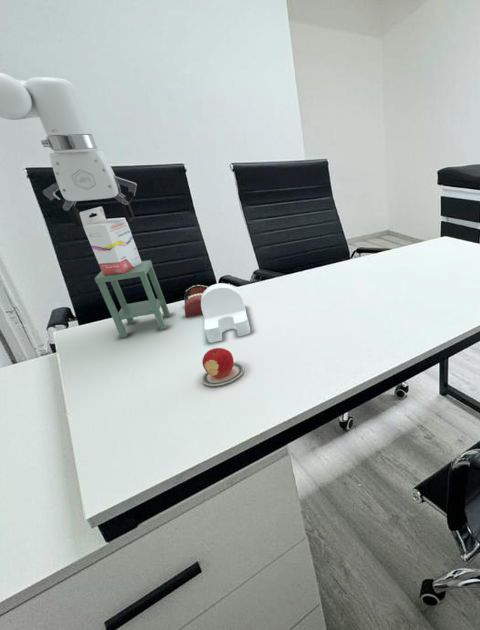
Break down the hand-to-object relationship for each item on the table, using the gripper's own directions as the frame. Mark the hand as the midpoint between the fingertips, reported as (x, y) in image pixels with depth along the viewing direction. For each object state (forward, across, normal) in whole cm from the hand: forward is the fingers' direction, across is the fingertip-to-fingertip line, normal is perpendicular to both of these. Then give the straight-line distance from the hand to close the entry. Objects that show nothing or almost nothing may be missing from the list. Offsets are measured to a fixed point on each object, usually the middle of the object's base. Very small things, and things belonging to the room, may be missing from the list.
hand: (105, 223), depth 91 cm
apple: (+27, +19, -36) cm, 49 cm away
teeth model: (+27, +13, +5) cm, 31 cm away
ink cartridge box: (+11, 0, 0) cm, 11 cm away
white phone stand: (+27, +20, -10) cm, 35 cm away
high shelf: (+27, 0, 0) cm, 27 cm away
